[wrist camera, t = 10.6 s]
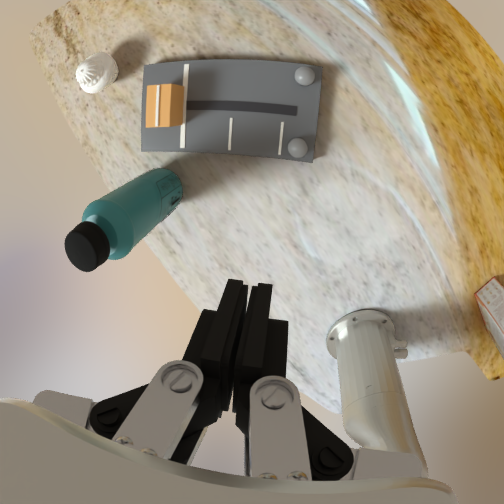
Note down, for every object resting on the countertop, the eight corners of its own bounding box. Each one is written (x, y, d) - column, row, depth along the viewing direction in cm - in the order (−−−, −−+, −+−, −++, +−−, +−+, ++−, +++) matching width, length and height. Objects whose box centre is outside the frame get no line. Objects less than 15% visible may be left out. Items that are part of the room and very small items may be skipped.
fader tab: (184, 86, 28) (170, 83, 25) (182, 125, 31) (168, 127, 27) (162, 87, 29) (146, 85, 25) (160, 125, 31) (144, 127, 27)
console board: (320, 69, 28) (324, 64, 24) (311, 160, 33) (313, 165, 30) (151, 66, 29) (138, 63, 26) (148, 149, 35) (135, 153, 32)
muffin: (134, 63, 29) (106, 57, 23) (113, 99, 32) (83, 100, 26) (107, 49, 28) (77, 43, 22) (88, 84, 31) (57, 84, 25)
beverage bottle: (146, 162, 36) (45, 213, 18) (190, 166, 36) (102, 221, 18) (147, 206, 39) (59, 278, 22) (188, 211, 39) (114, 294, 21)
